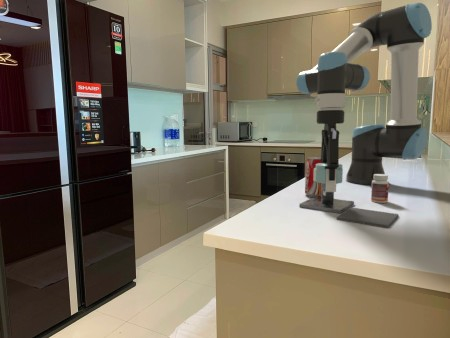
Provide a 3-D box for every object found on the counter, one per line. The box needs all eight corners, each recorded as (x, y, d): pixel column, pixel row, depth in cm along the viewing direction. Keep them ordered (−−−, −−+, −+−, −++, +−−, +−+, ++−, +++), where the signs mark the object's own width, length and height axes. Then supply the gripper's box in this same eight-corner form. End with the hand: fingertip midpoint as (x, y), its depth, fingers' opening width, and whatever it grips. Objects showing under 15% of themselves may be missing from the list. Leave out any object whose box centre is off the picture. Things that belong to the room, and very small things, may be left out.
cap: (338, 179, 100) (339, 162, 99) (344, 184, 92) (345, 166, 92) (312, 179, 101) (312, 163, 100) (315, 183, 93) (316, 166, 93)
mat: (351, 209, 93) (351, 207, 93) (398, 216, 86) (398, 214, 86) (336, 219, 84) (336, 217, 84) (388, 228, 76) (388, 225, 76)
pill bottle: (389, 203, 100) (391, 176, 99) (372, 202, 101) (374, 175, 100) (385, 199, 104) (387, 173, 103) (369, 199, 105) (370, 173, 104)
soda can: (300, 195, 112) (301, 157, 111) (316, 192, 116) (317, 156, 114) (314, 199, 106) (316, 159, 104) (331, 196, 109) (332, 157, 108)
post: (315, 199, 106) (316, 168, 104) (354, 204, 98) (355, 171, 97) (299, 207, 96) (300, 173, 95) (340, 213, 89) (342, 177, 88)
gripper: (312, 111, 104) (310, 182, 107) (322, 108, 84) (320, 196, 87) (337, 110, 103) (334, 182, 106) (353, 108, 83) (349, 196, 86)
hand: (328, 188), depth 97 cm, fingers closed on cap, 7 cm apart
